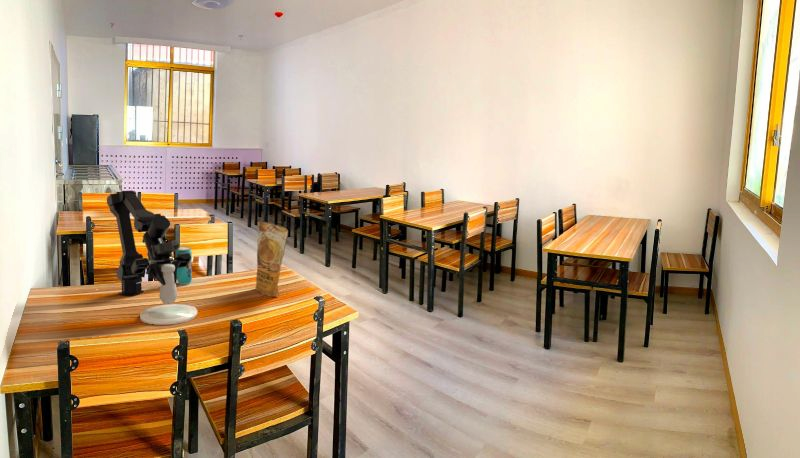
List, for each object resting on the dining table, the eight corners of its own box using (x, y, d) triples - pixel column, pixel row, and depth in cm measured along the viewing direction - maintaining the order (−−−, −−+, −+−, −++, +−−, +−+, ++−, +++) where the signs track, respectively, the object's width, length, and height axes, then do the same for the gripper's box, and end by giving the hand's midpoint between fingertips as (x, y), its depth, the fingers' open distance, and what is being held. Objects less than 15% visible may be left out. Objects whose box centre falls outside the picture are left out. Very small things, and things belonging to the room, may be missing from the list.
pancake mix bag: (264, 285, 222) (264, 220, 218) (288, 296, 209) (290, 227, 204) (249, 288, 218) (250, 221, 213) (273, 299, 204) (274, 228, 200)
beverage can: (186, 285, 216) (186, 250, 214) (174, 284, 217) (173, 248, 215) (194, 282, 222) (194, 247, 219) (182, 281, 223) (181, 246, 220)
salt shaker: (179, 299, 184) (179, 262, 181) (175, 304, 178) (175, 266, 176) (161, 298, 183) (161, 262, 180) (157, 304, 177) (156, 266, 175)
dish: (127, 319, 175) (127, 316, 175) (166, 304, 192) (166, 301, 192) (172, 328, 170) (172, 324, 170) (208, 311, 187) (208, 308, 187)
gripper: (133, 235, 172) (148, 275, 167) (188, 230, 186) (204, 267, 180) (124, 254, 179) (139, 293, 173) (179, 247, 192) (193, 284, 187)
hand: (170, 283), depth 178 cm, fingers closed on salt shaker, 3 cm apart
